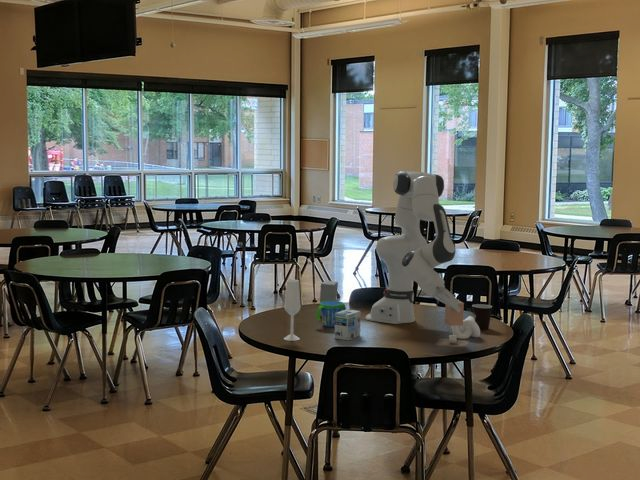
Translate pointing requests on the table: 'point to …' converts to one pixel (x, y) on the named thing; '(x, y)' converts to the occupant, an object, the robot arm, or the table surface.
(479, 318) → the coffee mug
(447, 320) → the pink juice box
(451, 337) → the small white block
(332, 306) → the snack cup
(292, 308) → the champagne flute
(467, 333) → the white lumpy piece
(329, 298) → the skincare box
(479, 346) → the table surface
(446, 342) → the board
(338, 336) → the light bulb box
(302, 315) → the table surface
